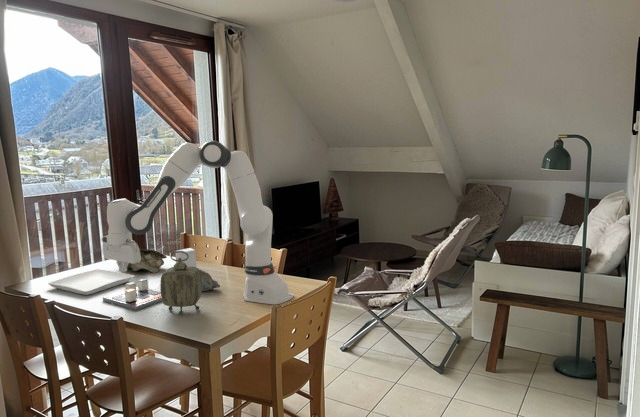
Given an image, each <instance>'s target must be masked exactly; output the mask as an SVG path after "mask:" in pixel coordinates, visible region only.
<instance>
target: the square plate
mask: <svg viewBox="0 0 640 417" xmlns="http://www.w3.org/2000/svg"><path fill="white" fill-rule="evenodd" d="M134 278H135V275H133V274H128V273H126V272H121V271H114V270H106V269H99V268H96V269H93V270H88V271H85V272H80V273H77V274H73V275H70V276H67V277H63V278H60V279H59V278H58V279H57V280H56V279H55V280H53V281H50V282H48V283H47V285H49V286H50V287H52V288H55V289H58V290H63V291H67V292H71V293H75V294H80V295H84V296H87V295H88V296H89V295H92V294H96V293H99V292H102V291H105V290H107V289H110V288H115V287H117V286H121V285H123V284H126V283H129V282H130V281H131V280H133V279H134Z"/></svg>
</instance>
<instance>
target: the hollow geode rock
mask: <svg viewBox="0 0 640 417" xmlns="http://www.w3.org/2000/svg"><path fill="white" fill-rule="evenodd" d="M139 250H140V256H141V261H140V262H139V263H135V264H132V263H128V266H127V269H132V271H134V272H135V271H136V272H137V271H140V270H141V269H142V270H147V271H149V272H151V273H153V274H154V273H157V272H160V268H161V267H162V266H163V265H164V264H165V261H164V260H165V259H168V257H167V255H165V254H163V253H161V252H159V251H158V250H155V249H149V248H148V249H146V248H139Z"/></svg>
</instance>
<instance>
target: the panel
mask: <svg viewBox="0 0 640 417" xmlns="http://www.w3.org/2000/svg"><path fill="white" fill-rule="evenodd" d="M102 302H104V303H108V304H110V305H114V306H117V307H121V308H125V309H128V310H132V311H134V312H136V311H138V310H142V309H144V308H147V307H151V306H153V305H156V304H159V303H163V301H162V297H161V290H160V291H159V290H156V289H152V288H148V289H146V290H143V291H141V290H138V286H136V300H134V301H131V302H129V301H126V300H125V290H122V291H118V292H116V293H112V294H109V295H106V296H105V295H104V296H103V297H102Z"/></svg>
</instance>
